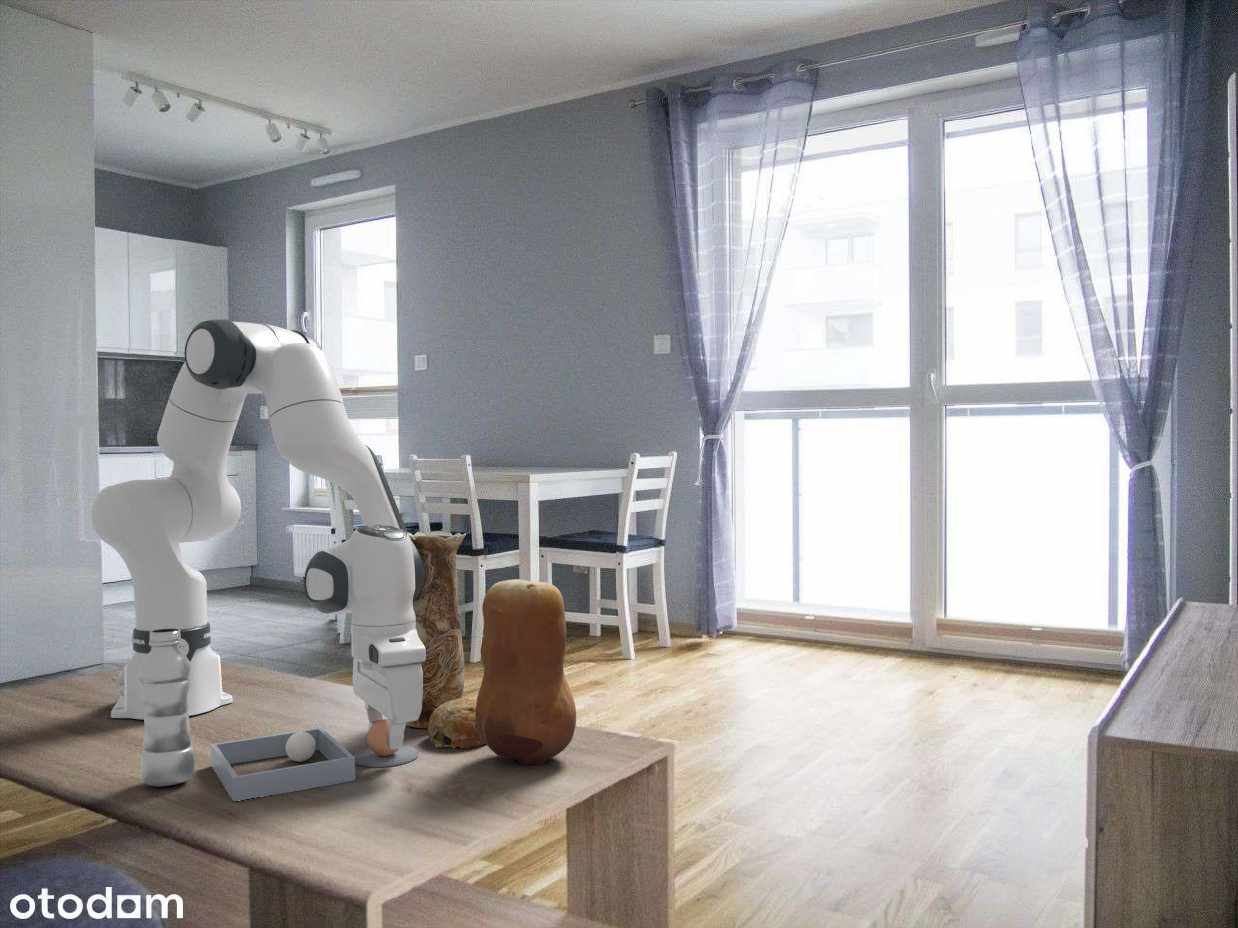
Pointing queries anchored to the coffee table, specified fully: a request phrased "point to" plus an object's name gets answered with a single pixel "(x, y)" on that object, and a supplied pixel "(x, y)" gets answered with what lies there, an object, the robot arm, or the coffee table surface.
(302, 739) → the cream ball
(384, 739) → the terracotta ball
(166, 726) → the plastic bottle
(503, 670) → the butternut squash
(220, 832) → the coffee table surface
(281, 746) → the grey square frame
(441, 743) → the bread roll
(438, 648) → the vase
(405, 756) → the pad
